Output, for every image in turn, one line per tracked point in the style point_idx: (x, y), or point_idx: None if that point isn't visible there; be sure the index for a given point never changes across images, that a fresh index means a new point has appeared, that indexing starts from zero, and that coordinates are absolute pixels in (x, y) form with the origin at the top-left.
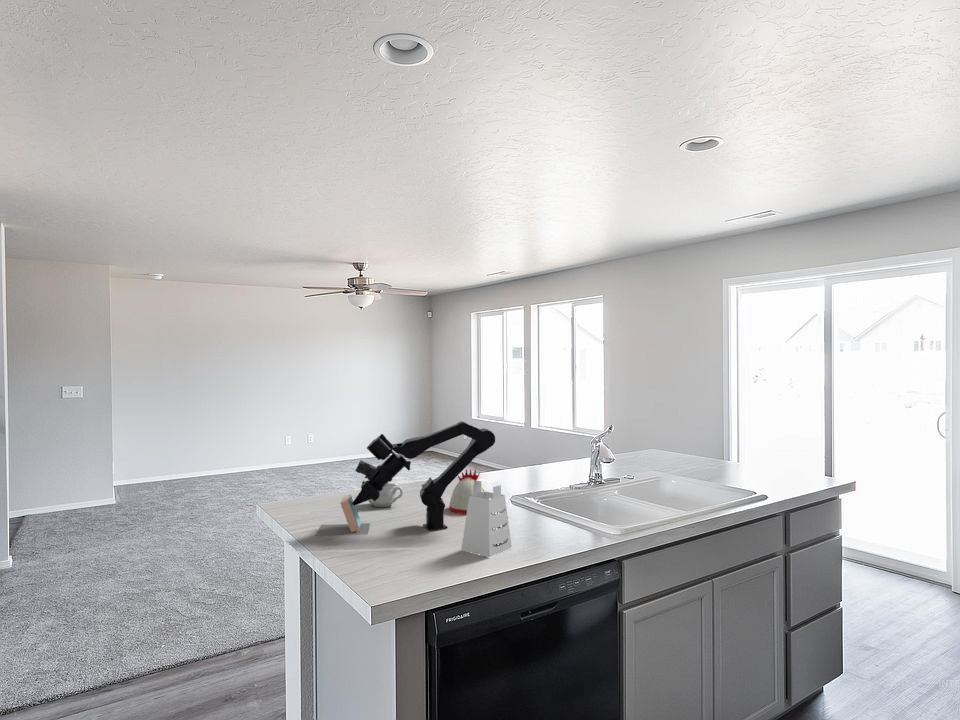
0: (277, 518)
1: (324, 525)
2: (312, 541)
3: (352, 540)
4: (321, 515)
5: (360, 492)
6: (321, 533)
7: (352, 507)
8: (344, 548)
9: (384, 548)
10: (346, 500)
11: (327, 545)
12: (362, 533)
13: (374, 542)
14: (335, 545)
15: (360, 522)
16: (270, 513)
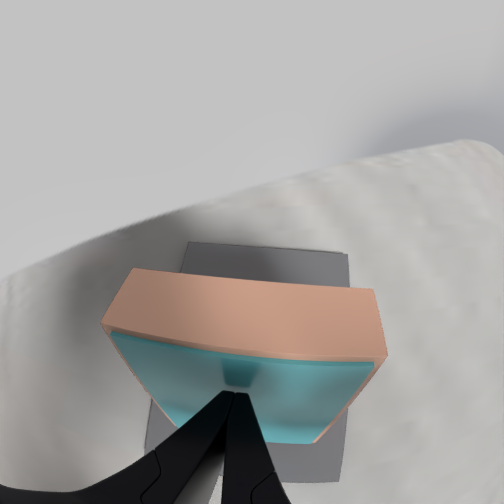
0: (417, 150)
1: (335, 267)
2: (147, 240)
3: (103, 381)
4: (472, 251)
5: (102, 480)
6: (212, 261)
7: (190, 391)
8: (43, 337)
9: (17, 448)
10: (120, 313)
11: (87, 287)
12: (158, 437)
13: (65, 449)
14: (76, 313)
15: (285, 442)
16: (448, 143)
